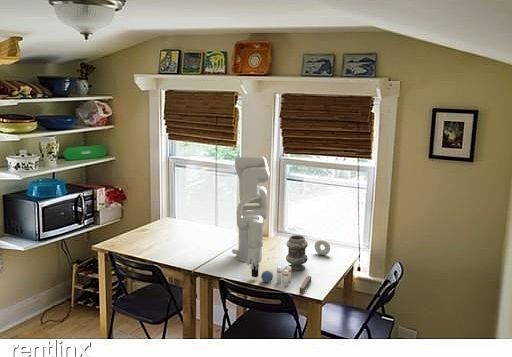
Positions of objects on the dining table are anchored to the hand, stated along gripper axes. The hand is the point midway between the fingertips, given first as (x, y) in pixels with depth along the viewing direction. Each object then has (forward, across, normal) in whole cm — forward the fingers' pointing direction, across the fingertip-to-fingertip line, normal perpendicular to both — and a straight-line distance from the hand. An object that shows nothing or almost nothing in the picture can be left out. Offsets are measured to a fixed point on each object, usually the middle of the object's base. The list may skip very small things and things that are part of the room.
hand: (255, 276), depth 259 cm
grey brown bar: (+2, 0, +27) cm, 27 cm away
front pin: (+2, 0, +13) cm, 13 cm away
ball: (-1, +1, +7) cm, 7 cm away
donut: (+2, -48, +25) cm, 54 cm away
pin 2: (+2, -3, +18) cm, 18 cm away
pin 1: (+2, +2, +18) cm, 18 cm away
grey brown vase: (+2, -23, +16) cm, 28 cm away
